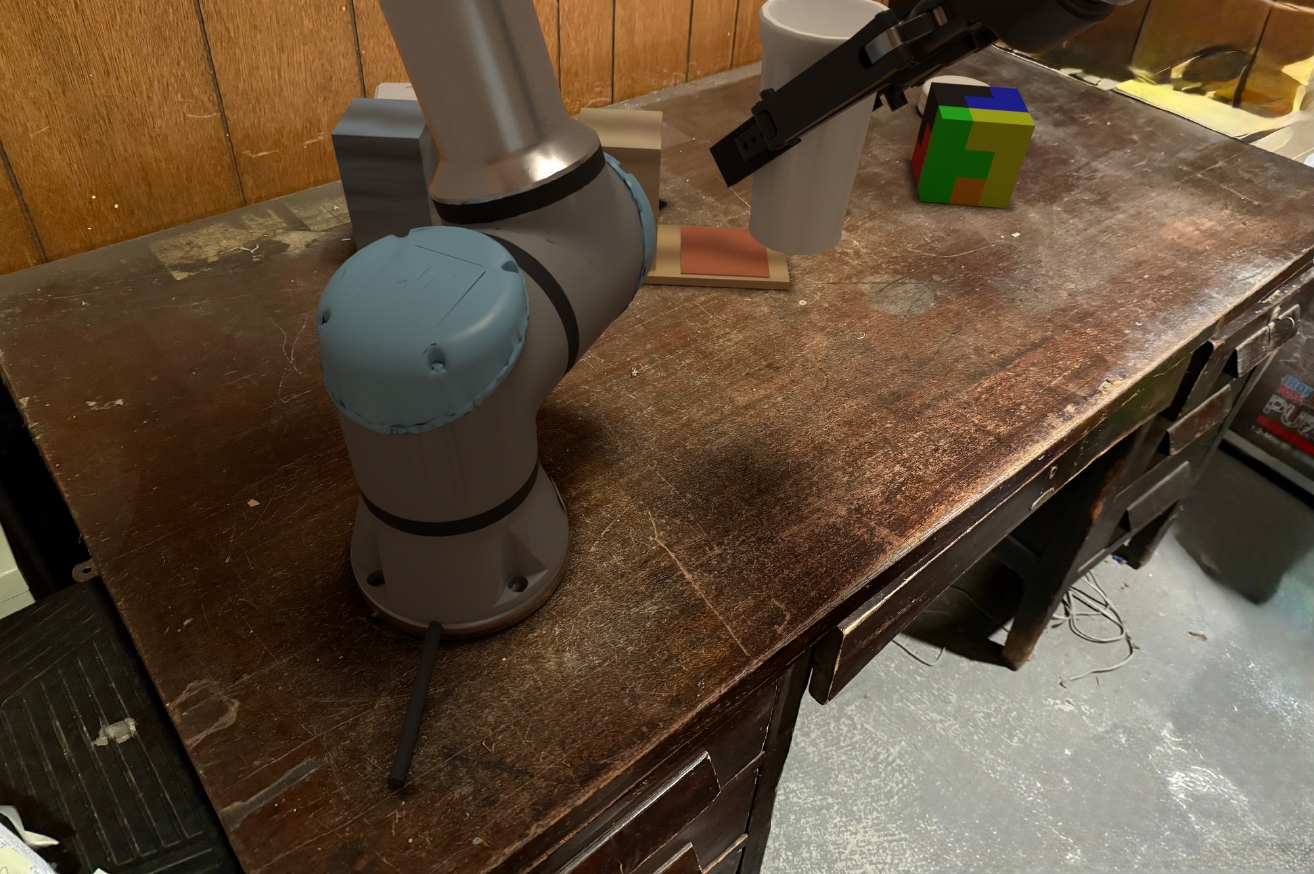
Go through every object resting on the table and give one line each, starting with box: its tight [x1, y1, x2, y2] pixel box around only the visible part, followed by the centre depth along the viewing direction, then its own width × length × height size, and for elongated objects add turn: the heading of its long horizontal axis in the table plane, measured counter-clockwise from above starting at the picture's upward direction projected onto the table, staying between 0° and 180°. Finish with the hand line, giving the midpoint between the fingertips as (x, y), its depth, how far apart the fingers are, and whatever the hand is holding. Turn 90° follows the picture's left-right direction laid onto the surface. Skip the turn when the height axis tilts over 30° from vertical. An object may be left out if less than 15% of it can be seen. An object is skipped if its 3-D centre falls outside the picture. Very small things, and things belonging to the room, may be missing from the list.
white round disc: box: [917, 75, 990, 116], centre depth 120 cm, size 10×10×4 cm
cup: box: [748, 0, 901, 257], centre depth 55 cm, size 8×8×14 cm
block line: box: [330, 97, 791, 291], centre depth 88 cm, size 10×44×14 cm, turn 89°
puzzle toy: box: [910, 82, 1036, 209], centre depth 104 cm, size 10×10×10 cm
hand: (764, 148), depth 58 cm, fingers closed on cup, 7 cm apart
